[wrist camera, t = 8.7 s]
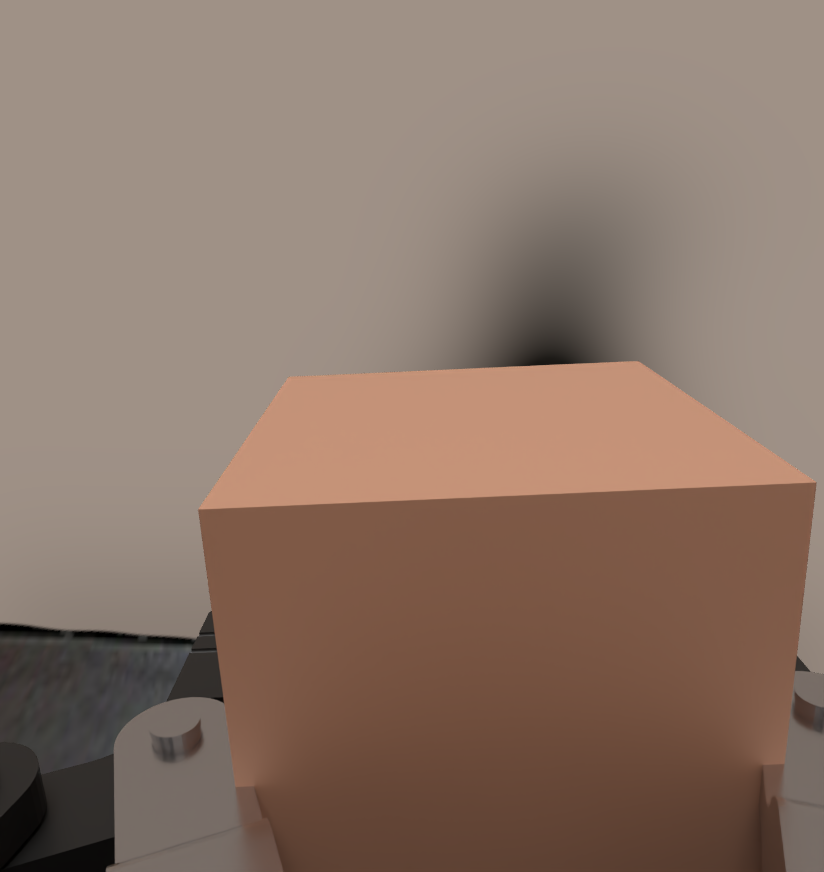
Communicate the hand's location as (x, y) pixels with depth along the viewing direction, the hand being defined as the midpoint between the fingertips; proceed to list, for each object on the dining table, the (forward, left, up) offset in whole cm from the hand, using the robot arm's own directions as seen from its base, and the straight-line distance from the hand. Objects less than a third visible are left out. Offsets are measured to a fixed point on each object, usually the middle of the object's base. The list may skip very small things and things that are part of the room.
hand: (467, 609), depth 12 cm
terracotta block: (+1, -2, -6) cm, 7 cm away
